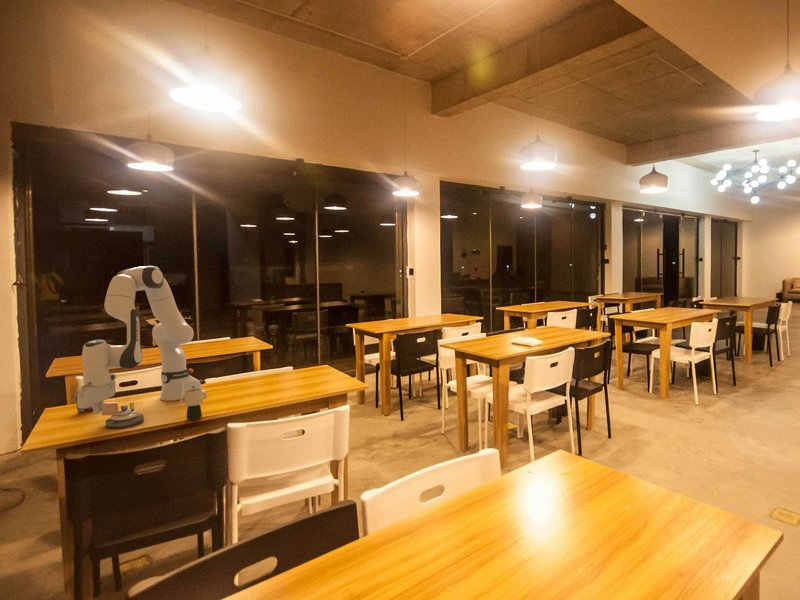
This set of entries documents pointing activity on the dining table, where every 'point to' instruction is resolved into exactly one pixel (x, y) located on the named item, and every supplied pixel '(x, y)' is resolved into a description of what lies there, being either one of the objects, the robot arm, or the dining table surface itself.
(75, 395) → the food container
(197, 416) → the character mug
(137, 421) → the handwheel with crank handle
